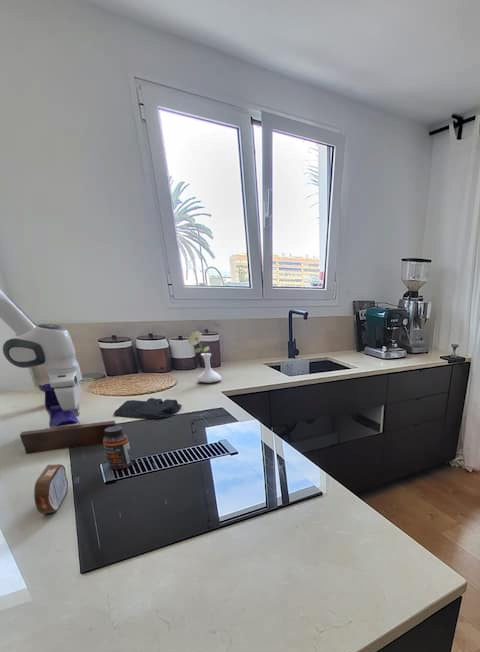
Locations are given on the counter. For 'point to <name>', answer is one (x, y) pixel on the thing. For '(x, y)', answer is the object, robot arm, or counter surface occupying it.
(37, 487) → the tin
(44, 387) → the sandal
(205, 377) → the flower in vase
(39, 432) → the dark wooden plank
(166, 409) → the dark grey glove
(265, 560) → the counter surface
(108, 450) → the supplement bottle
